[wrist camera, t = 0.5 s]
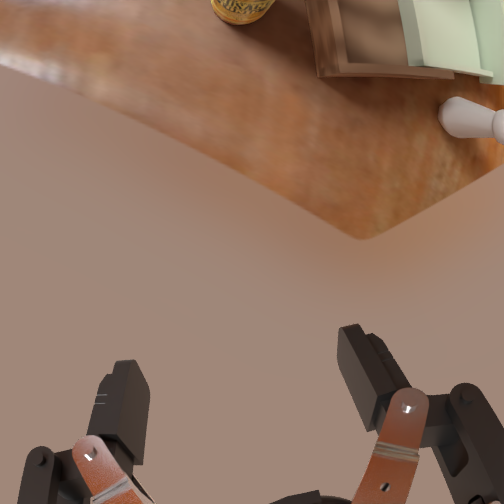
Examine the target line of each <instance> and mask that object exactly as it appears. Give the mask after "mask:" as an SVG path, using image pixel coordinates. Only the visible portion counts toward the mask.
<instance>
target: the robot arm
mask: <svg viewBox="0 0 504 504" xmlns="http://www.w3.org/2000/svg"><path fill="white" fill-rule="evenodd" d="M337 360H338V365H339V369H340V371H341V373H342V375H343V378H344V380H345V382H346V384H347V386H348V389H349V391H350V394H351V396H352V398H353V400H354V403H355V405H356V407H357V410H358V412H359V414H360V417H361V419H362V421H363V423H364V426H365V428H366V431H367V432H369V431H372V430H375V429H376V431H377V434H378V436H379V437H378V439H377V442H376V444H375V447H374V450H373V452H372V455H371V457H370V460H369V463H368V465H367V467H366V470H365V472H364V475H363V477H362V479H361V481H360V484H359V486H358V488H357V490H356V493H355V495H354V497H353V499H352V501H350V500H347V499H344V498H340V497H335V496H320V493H319V490H315V491H311V492H307V493H302V494H297V495H292V496H287V497H285V498H283V499H280V500H278V501H275V502H273V503H270V504H405V503H406V499H407V497H408V494H409V491H410V488H411V485H412V482H413V478H414V475H415V472H416V469H417V465H418V461H419V455H418V451H419V448H425V447H431V448H432V450H433V452H434V454H435V457H436V459H437V461H438V464H439V466H440V468H441V471H442V473H443V476H444V478H445V480H446V483H447V485H448V488H449V490H450V493H451V495H452V498H453V500H454V503H455V504H504V428H503V426H502V424H501V423H500V421H499V419H498V418H497V416H496V414H495V413H494V411H493V409H492V408H491V406H490V404H489V403H488V401H487V400H486V398H485V397H484V395H483V393H482V392H481V391H480V389H479V388H478V387H477V386H475V385H473V384H470V383H461V384H458V385H456V386H455V387H454V388H453V389H452V391H451V392H450V394H442V395H426V394H425V393H424V392H422V391H421V390H419V389H416V388H412V386H411V385H410V384H409V382H408V380H407V379H406V377H405V375H404V374H403V372H402V370H401V369H400V367H399V366H398V364H397V362H396V361H395V359H393V356H392V354H391V353H390V351H388V348H387V346H386V345H385V343H384V342H383V340H382V339H380V338H379V337H377V336H376V335H375V334H373V333H371V334H367V335H365V333H364V331H363V330H362V328H361V327H360V325H359V324H353V325H349V326H345V327H341V328H339V332H338V348H337ZM149 403H150V390H149V386H148V384H147V382H146V380H145V378H144V376H143V374H142V372H141V370H140V368H139V366H138V364H137V362H136V361H135V360H122V361H116V363H115V365H114V369H113V373H112V374H107V375H106V376H105V377H104V379H103V380H102V381H101V383H100V385H99V388H98V392H97V396H96V399H95V405H94V407H93V410H92V414H91V419H90V422H89V426H88V431H87V434H86V436H84V437H82V438H80V439H79V440H78V441H77V442H76V443H75V445H74V446H73V449H70V450H66V451H61V452H57V453H53V452H52V451H51V450H50V449H49V448H47V447H44V446H40V447H36V448H34V449H33V450H31V451H30V453H29V454H28V456H27V459H26V463H25V467H24V471H23V476H22V481H21V486H20V491H19V497H18V502H17V504H90V497H92V496H94V498H95V500H93V504H157V503H156V502H155V501H154V500H153V498H152V497H151V496H150V495H149V493H148V492H147V491H146V490H145V488H144V487H143V486H142V484H141V483H140V482H139V480H138V479H137V478H136V477H135V475H134V474H133V465H143V457H144V447H145V437H146V427H147V419H148V411H149Z"/></svg>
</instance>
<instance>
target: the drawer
mask: <svg viewBox="0 0 504 504" xmlns="http://www.w3.org/2000/svg"><path fill="white" fill-rule="evenodd" d="M398 5H399V10H400V15H401V20H402V25H403V31H404V37H405V43H406V50H407V57H408V65H409V66H416V67H425V68H434V69H442V70H449V71H454V72H456V73H463V74H469V75H474V76H479V81H480V83H483V84H493V85H504V0H398Z"/></svg>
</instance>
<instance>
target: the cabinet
mask: <svg viewBox="0 0 504 504" xmlns="http://www.w3.org/2000/svg"><path fill="white" fill-rule="evenodd" d="M305 5H306V10H307V15H308V21H309V27H310V32H311V38H312V45H313V51H314V58H315V64H316V71H317V78H321V77H394V78H412V79H455V78H454V71H449V70H442V69H434V68H425V67H416V66H409V65H408V57H407V50H406V43H405V37H404V31H403V25H402V20H401V15H400V10H399V5H398V0H305Z"/></svg>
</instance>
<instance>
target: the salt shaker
mask: <svg viewBox="0 0 504 504" xmlns="http://www.w3.org/2000/svg"><path fill="white" fill-rule="evenodd" d="M438 120H439V121H440V123H441V125H442V127H443V128H444V129H445V130H446V131H447V132H448V133H449V134H450V135H452V136H454V137H457V138H495V139H496V140H497V142H499V143H500V144H503V145H504V109H502V110H498V111H497V112H496V111H493V110H491V109H489V108H486V107H484V106H481V105H479V104H476V103H474V102H471V101H469V100H466V99H464V98H461V97H453V98H449V99H448V100H447V101H446V102H445V103H444V104H442V105H440V106H439V112H438Z"/></svg>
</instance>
